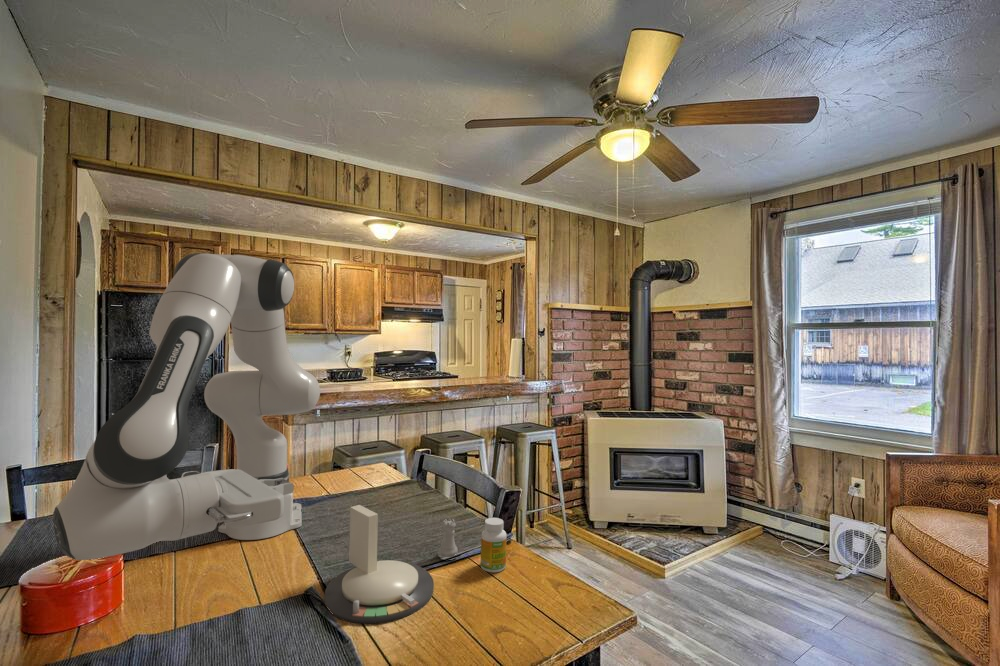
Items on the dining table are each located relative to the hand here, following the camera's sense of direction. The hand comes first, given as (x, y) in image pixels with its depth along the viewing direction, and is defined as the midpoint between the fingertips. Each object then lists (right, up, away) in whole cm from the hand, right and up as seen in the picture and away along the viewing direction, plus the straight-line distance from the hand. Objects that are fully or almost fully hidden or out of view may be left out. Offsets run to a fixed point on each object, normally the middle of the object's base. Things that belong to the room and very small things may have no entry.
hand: (288, 484), depth 83 cm
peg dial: (+15, -21, +7) cm, 26 cm away
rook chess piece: (+26, -23, +21) cm, 40 cm away
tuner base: (+14, -22, +7) cm, 27 cm away
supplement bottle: (+36, -23, +17) cm, 46 cm away
